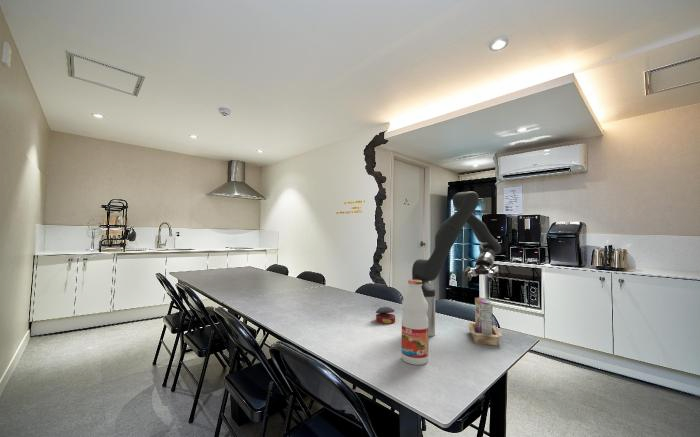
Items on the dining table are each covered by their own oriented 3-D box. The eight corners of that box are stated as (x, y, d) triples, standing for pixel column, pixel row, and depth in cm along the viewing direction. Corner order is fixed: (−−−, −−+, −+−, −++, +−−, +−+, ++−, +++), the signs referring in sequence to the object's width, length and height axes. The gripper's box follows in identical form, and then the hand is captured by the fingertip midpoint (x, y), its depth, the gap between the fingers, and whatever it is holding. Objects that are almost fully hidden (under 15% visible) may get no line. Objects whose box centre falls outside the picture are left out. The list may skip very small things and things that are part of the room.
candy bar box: (474, 333, 132) (474, 297, 133) (486, 334, 131) (486, 297, 132) (480, 342, 121) (480, 302, 122) (493, 343, 120) (493, 303, 121)
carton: (471, 343, 119) (471, 333, 119) (467, 330, 136) (466, 321, 136) (503, 347, 115) (503, 337, 116) (494, 333, 132) (494, 324, 133)
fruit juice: (433, 360, 102) (433, 280, 104) (418, 368, 96) (419, 283, 97) (411, 352, 109) (411, 277, 110) (395, 359, 102) (396, 279, 104)
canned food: (376, 331, 145) (368, 313, 148) (385, 324, 153) (377, 307, 156) (394, 325, 139) (384, 306, 142) (402, 318, 148) (393, 300, 150)
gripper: (468, 256, 145) (460, 272, 132) (499, 255, 136) (494, 272, 123) (471, 269, 146) (464, 286, 134) (502, 269, 138) (497, 287, 125)
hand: (478, 279), depth 129 cm, fingers open, 8 cm apart
